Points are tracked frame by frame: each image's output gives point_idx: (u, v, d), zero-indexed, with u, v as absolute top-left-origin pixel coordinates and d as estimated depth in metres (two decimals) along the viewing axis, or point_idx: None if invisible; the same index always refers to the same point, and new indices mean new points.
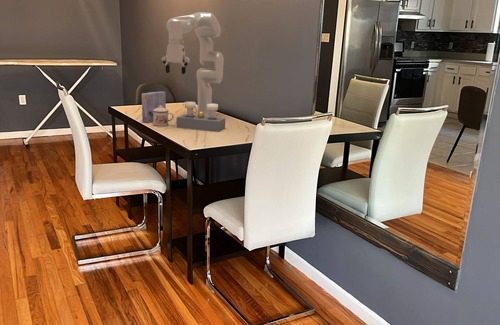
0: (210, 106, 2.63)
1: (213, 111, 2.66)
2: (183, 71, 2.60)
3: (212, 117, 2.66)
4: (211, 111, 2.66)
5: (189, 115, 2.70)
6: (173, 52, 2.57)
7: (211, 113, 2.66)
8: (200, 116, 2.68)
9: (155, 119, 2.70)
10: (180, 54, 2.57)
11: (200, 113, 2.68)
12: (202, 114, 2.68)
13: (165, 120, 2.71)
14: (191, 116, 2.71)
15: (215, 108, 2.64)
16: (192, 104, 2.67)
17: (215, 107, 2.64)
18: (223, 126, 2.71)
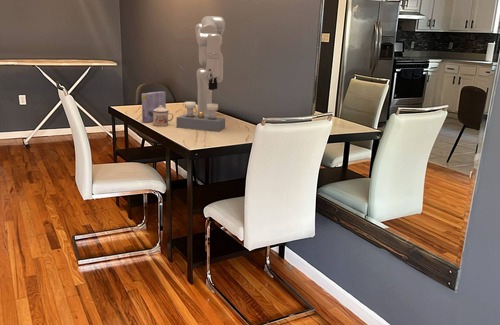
0: (210, 106, 2.63)
1: (213, 111, 2.66)
2: None
3: (212, 117, 2.66)
4: (211, 111, 2.66)
5: (189, 115, 2.70)
6: (217, 67, 2.59)
7: (211, 113, 2.66)
8: (200, 116, 2.68)
9: (155, 119, 2.70)
10: (219, 68, 2.64)
11: (200, 113, 2.68)
12: (202, 114, 2.68)
13: (165, 120, 2.71)
14: (191, 116, 2.71)
15: (215, 108, 2.64)
16: (192, 104, 2.67)
17: (215, 107, 2.64)
18: (223, 126, 2.71)
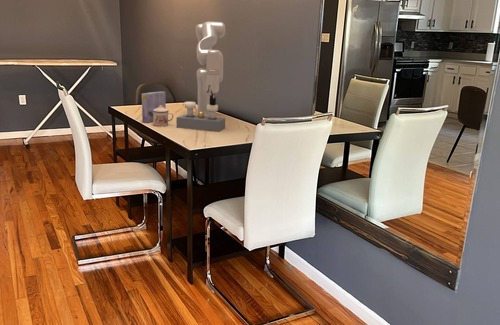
0: (210, 107, 2.63)
1: (213, 112, 2.66)
2: None
3: (212, 118, 2.67)
4: (211, 112, 2.66)
5: (189, 115, 2.70)
6: (216, 83, 2.62)
7: (211, 114, 2.66)
8: (200, 116, 2.68)
9: (155, 119, 2.70)
10: (218, 83, 2.66)
11: (200, 113, 2.68)
12: (202, 114, 2.68)
13: (165, 120, 2.71)
14: (191, 116, 2.71)
15: (215, 109, 2.64)
16: (192, 104, 2.67)
17: (215, 108, 2.64)
18: (223, 126, 2.71)
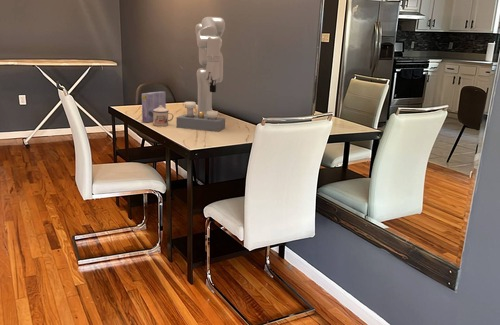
0: (210, 113, 2.65)
1: (213, 118, 2.67)
2: None
3: None
4: (211, 118, 2.67)
5: (189, 115, 2.70)
6: (217, 69, 2.60)
7: None
8: (200, 116, 2.68)
9: (155, 119, 2.70)
10: (219, 70, 2.64)
11: (200, 113, 2.68)
12: (202, 114, 2.68)
13: (165, 120, 2.71)
14: (191, 116, 2.71)
15: (215, 115, 2.65)
16: (192, 104, 2.67)
17: (215, 114, 2.65)
18: (223, 126, 2.71)
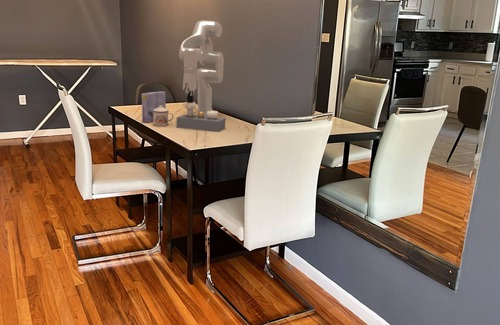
0: (210, 113, 2.65)
1: (213, 118, 2.67)
2: None
3: None
4: (211, 118, 2.67)
5: (189, 115, 2.70)
6: (194, 81, 2.65)
7: None
8: (200, 116, 2.68)
9: (155, 119, 2.70)
10: (196, 81, 2.70)
11: (200, 113, 2.68)
12: (202, 114, 2.68)
13: (165, 120, 2.71)
14: (191, 116, 2.71)
15: (215, 115, 2.65)
16: (192, 104, 2.67)
17: (215, 114, 2.65)
18: (223, 126, 2.71)
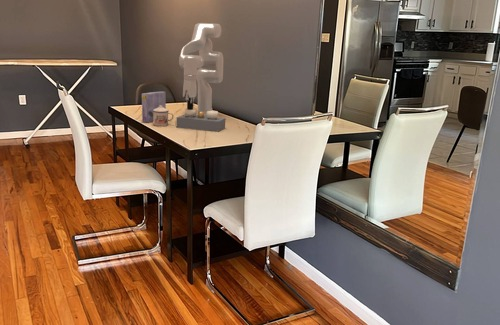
0: (210, 113, 2.65)
1: (213, 118, 2.67)
2: None
3: None
4: (211, 118, 2.67)
5: None
6: (194, 88, 2.66)
7: None
8: (200, 116, 2.68)
9: (155, 119, 2.70)
10: (196, 88, 2.71)
11: (200, 113, 2.68)
12: (202, 114, 2.68)
13: (165, 120, 2.71)
14: None
15: (215, 115, 2.65)
16: (192, 111, 2.69)
17: (215, 114, 2.65)
18: (223, 126, 2.71)
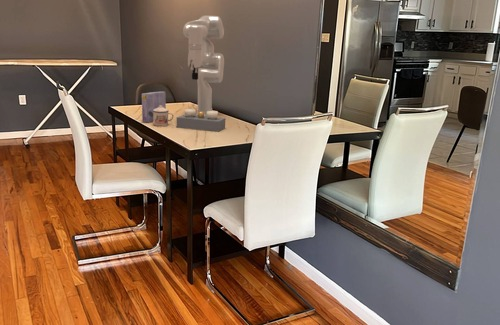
0: (210, 113, 2.65)
1: (213, 118, 2.67)
2: None
3: None
4: (211, 118, 2.67)
5: None
6: (198, 57, 2.68)
7: None
8: (200, 116, 2.68)
9: (155, 119, 2.70)
10: (201, 58, 2.72)
11: (200, 113, 2.68)
12: (202, 114, 2.68)
13: (165, 120, 2.71)
14: None
15: (215, 115, 2.65)
16: (192, 111, 2.69)
17: (215, 114, 2.65)
18: (223, 126, 2.71)
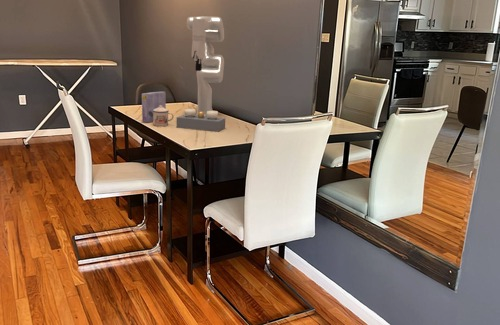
0: (210, 113, 2.65)
1: (213, 118, 2.67)
2: None
3: None
4: (211, 118, 2.67)
5: None
6: (202, 49, 2.72)
7: None
8: (200, 116, 2.68)
9: (155, 119, 2.70)
10: (204, 50, 2.76)
11: (200, 113, 2.68)
12: (202, 114, 2.68)
13: (165, 120, 2.71)
14: None
15: (215, 115, 2.65)
16: (192, 111, 2.69)
17: (215, 114, 2.65)
18: (223, 126, 2.71)
